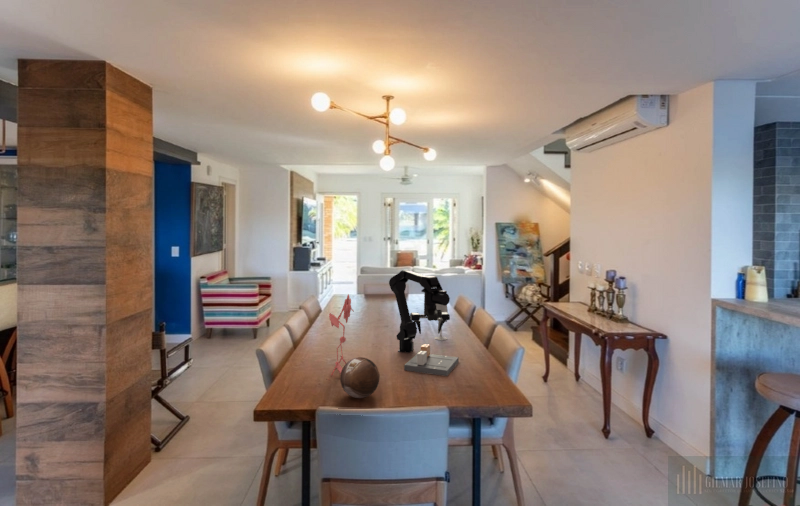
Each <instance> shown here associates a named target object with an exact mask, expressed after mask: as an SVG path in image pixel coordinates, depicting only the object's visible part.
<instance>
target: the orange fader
mask: <svg viewBox="0 0 800 506" xmlns="http://www.w3.org/2000/svg"><path fill="white" fill-rule="evenodd" d="M420 351H427V357H428V356H429V355H430V354H431V344H428V343H424V344H422V345H420Z"/></svg>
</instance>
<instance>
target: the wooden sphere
mask: <svg viewBox="0 0 800 506" xmlns="http://www.w3.org/2000/svg"><path fill="white" fill-rule="evenodd" d="M380 379H381V378H380V371H379V368H378V366H377V365H376V364H375V362H373V361H372V360H371V359H369V358H367V357H363V356H362V357H361V356H359V357H354V358H352V359H350V360H349V361H347V362H346V364H345V363H344V365H343V367H342V371H341V374H340V376H339V380H340V384H341V385H340V386H341V387H342V390H343V391H344V392H345V393H346V394H347V395H348V396H350V397H352V398H355V399H363V398H367V397H369V396H371V395H372V394H374V392H375V391H376V390H377V388H378V386H379V382H380Z"/></svg>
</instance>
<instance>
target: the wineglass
mask: <svg viewBox="0 0 800 506" xmlns="http://www.w3.org/2000/svg"><path fill="white" fill-rule="evenodd" d="M436 309H437V310H442V312H447V313H448V314H449V312H448V304H447V305H446V306H444V305H440V304H436ZM437 321H439V318H438V320H437ZM442 329H443V327H442V328H441V330H440V333H439V336H435V337H434V339H435V340H437V341H446V340H448V338H447V337H446V336H443V334H442V331H443V330H442Z"/></svg>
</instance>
